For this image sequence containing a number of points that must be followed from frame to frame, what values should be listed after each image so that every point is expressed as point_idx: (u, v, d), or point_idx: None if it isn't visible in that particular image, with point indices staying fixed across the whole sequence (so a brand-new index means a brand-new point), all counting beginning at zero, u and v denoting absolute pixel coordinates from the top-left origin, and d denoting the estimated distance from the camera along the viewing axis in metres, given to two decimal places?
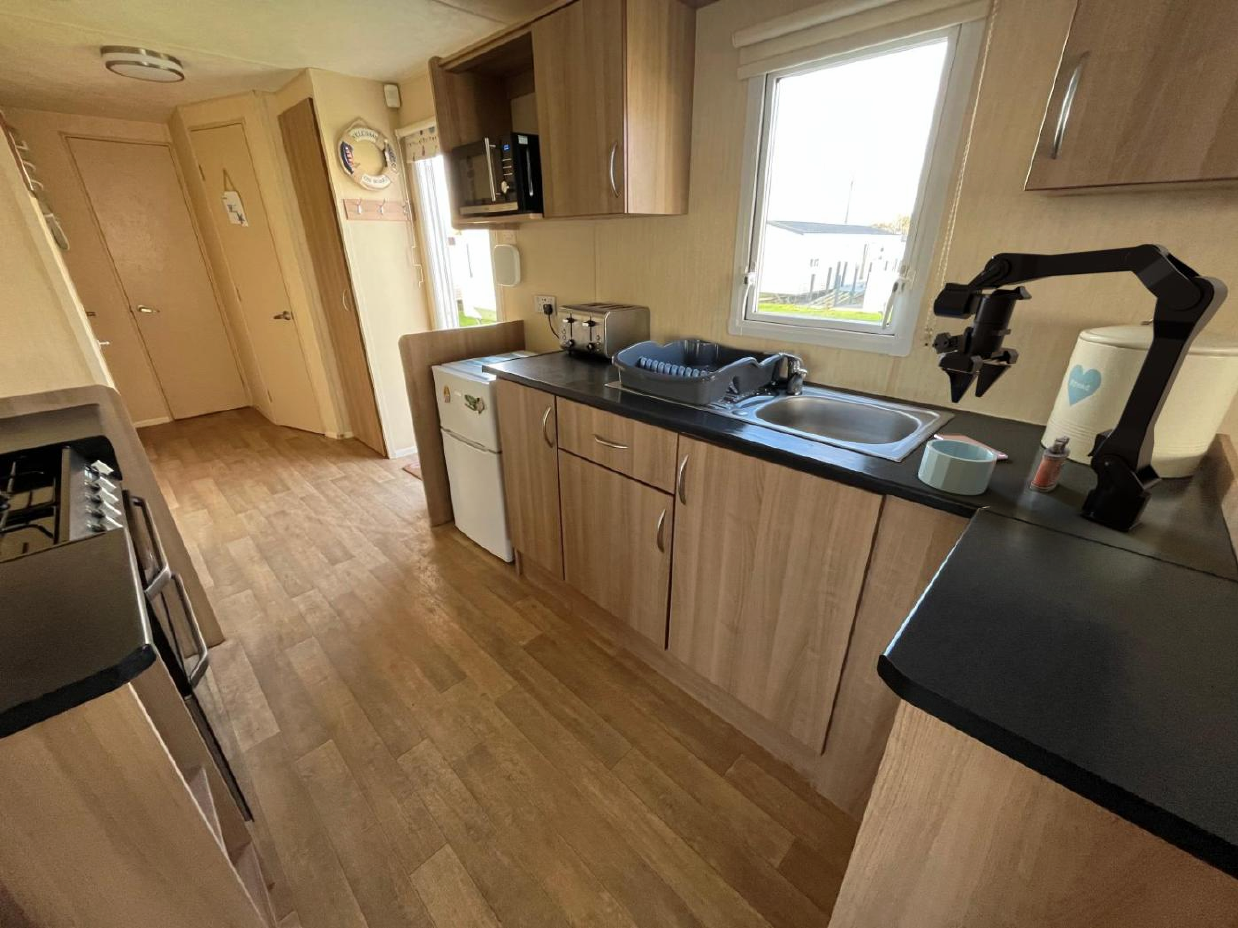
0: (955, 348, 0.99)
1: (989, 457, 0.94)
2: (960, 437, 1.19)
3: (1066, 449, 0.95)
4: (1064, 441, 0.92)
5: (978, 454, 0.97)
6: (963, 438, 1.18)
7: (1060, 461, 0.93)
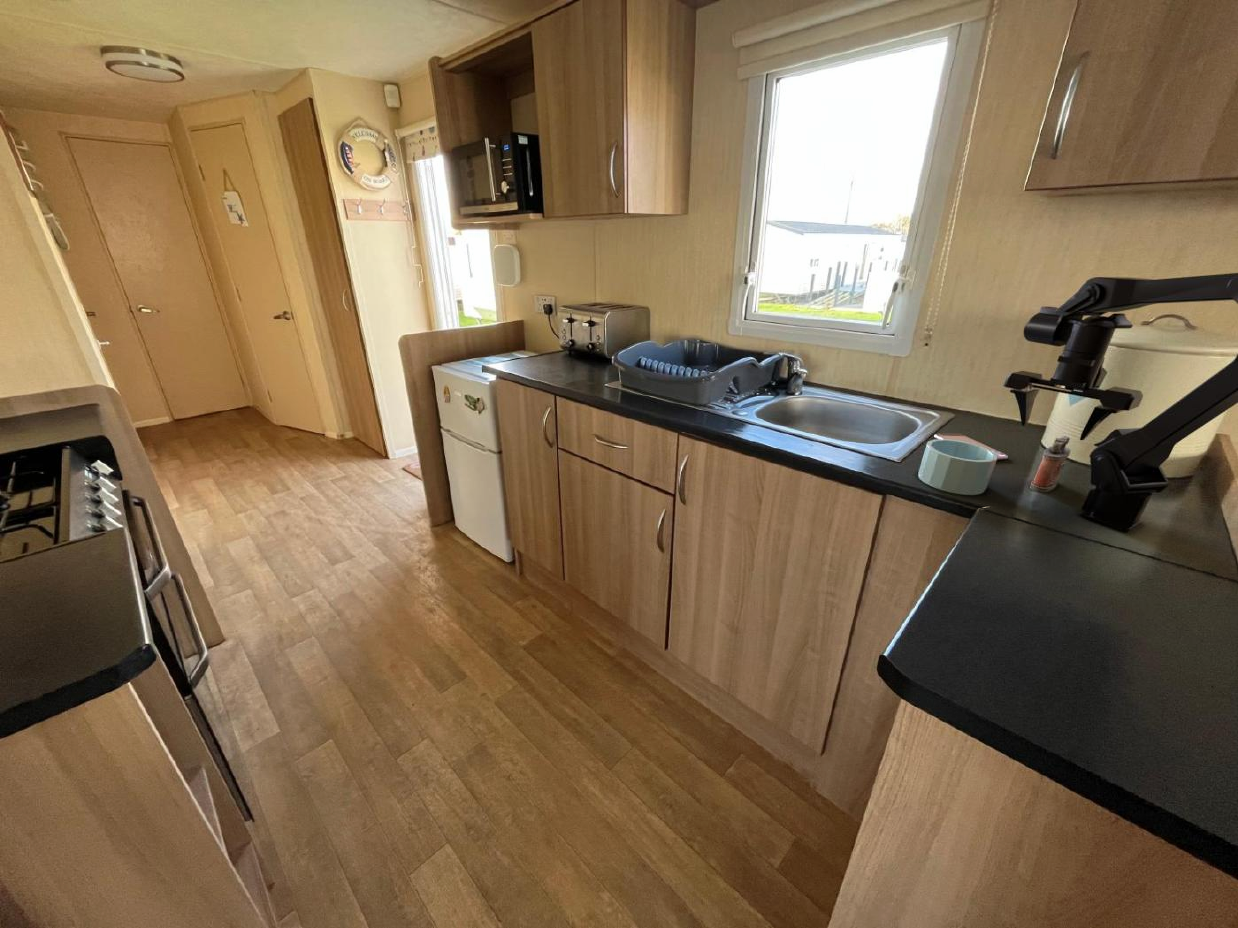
0: None
1: (989, 457, 0.94)
2: (960, 437, 1.19)
3: (1066, 449, 0.95)
4: (1064, 441, 0.92)
5: (978, 454, 0.97)
6: (963, 438, 1.18)
7: (1060, 461, 0.93)
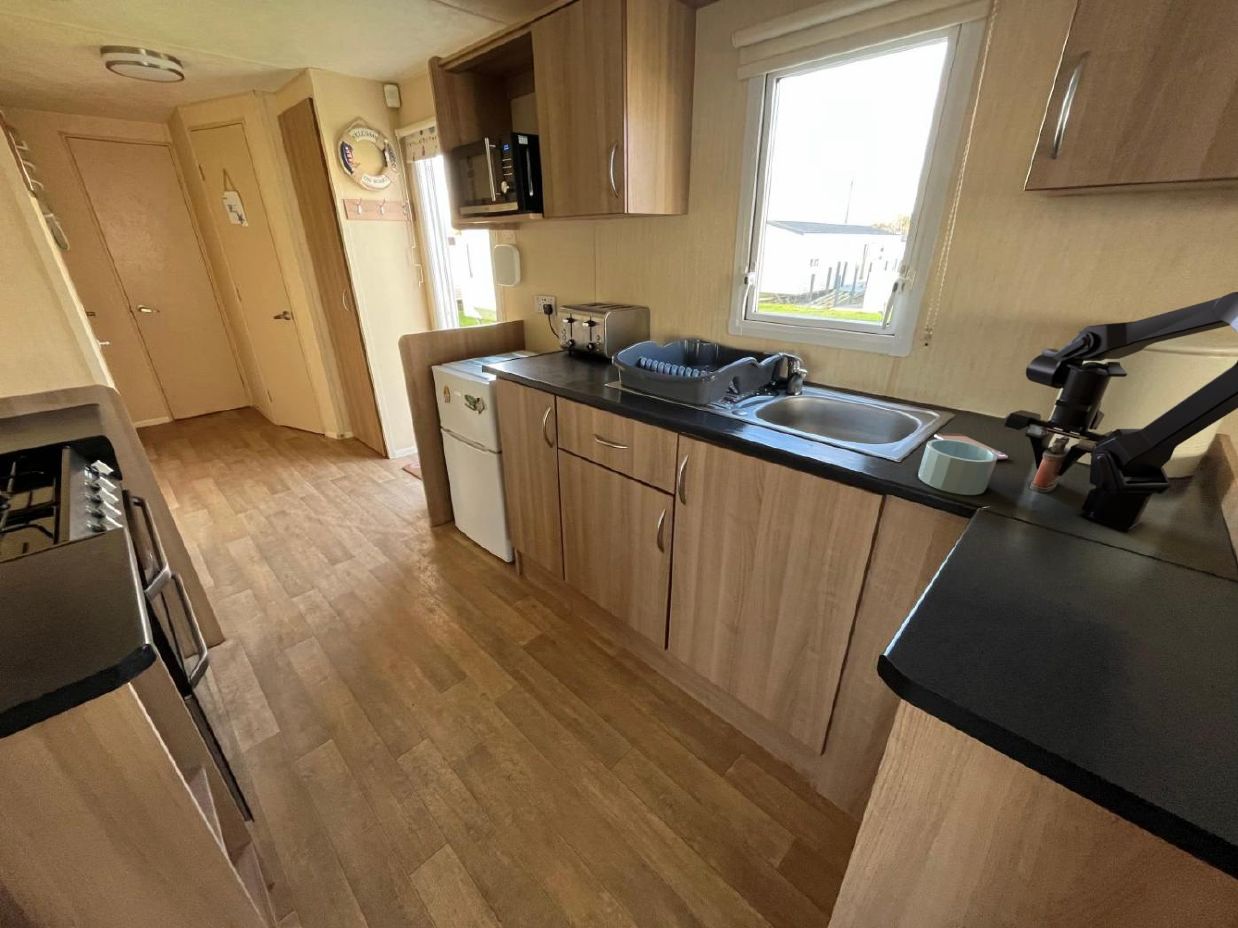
0: None
1: (989, 457, 0.94)
2: (960, 437, 1.19)
3: (1066, 449, 0.95)
4: (1064, 441, 0.92)
5: (978, 454, 0.97)
6: (963, 438, 1.18)
7: (1060, 461, 0.93)
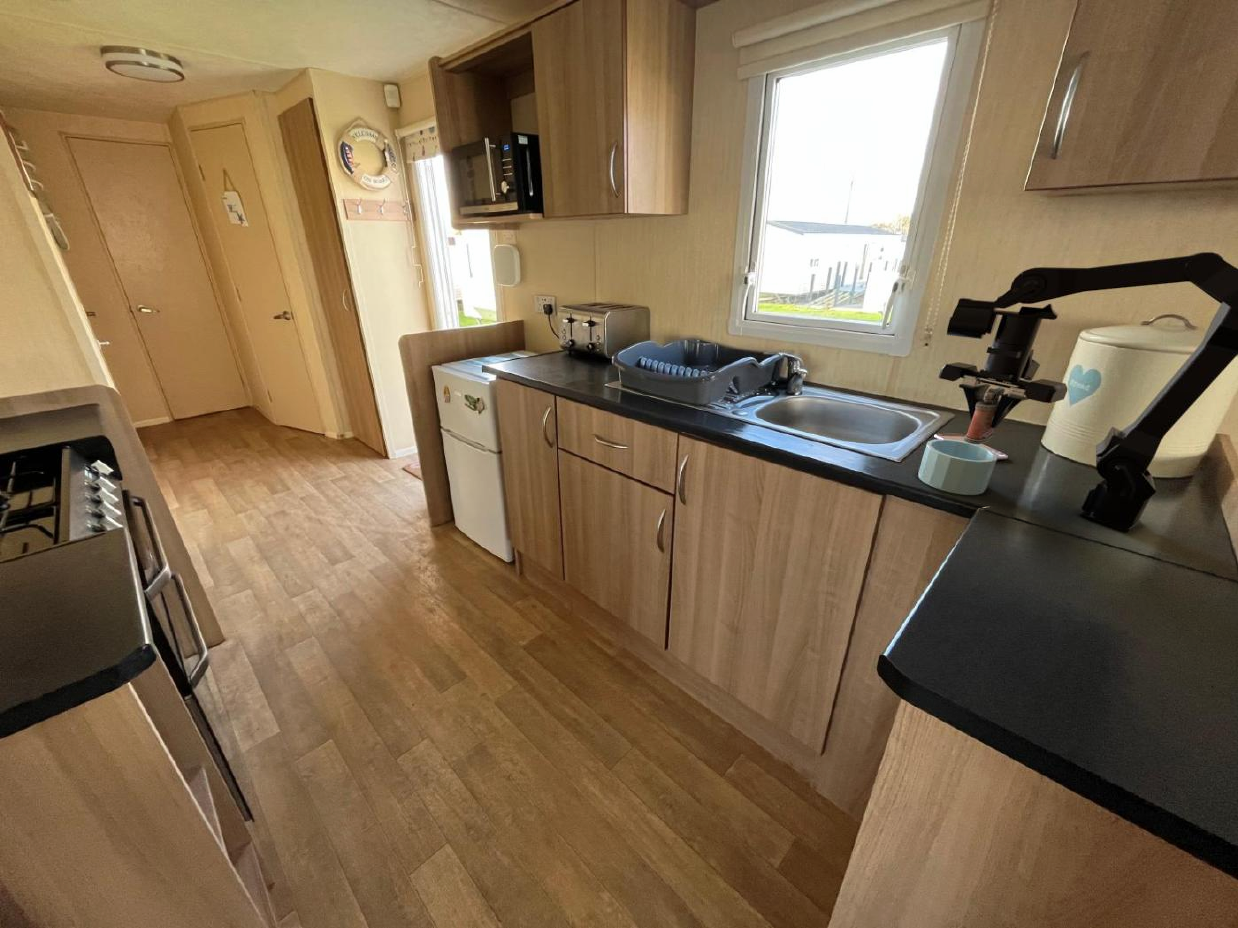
0: None
1: (989, 457, 0.94)
2: (960, 437, 1.19)
3: None
4: (997, 391, 0.90)
5: (978, 454, 0.97)
6: (963, 438, 1.18)
7: (992, 412, 0.90)
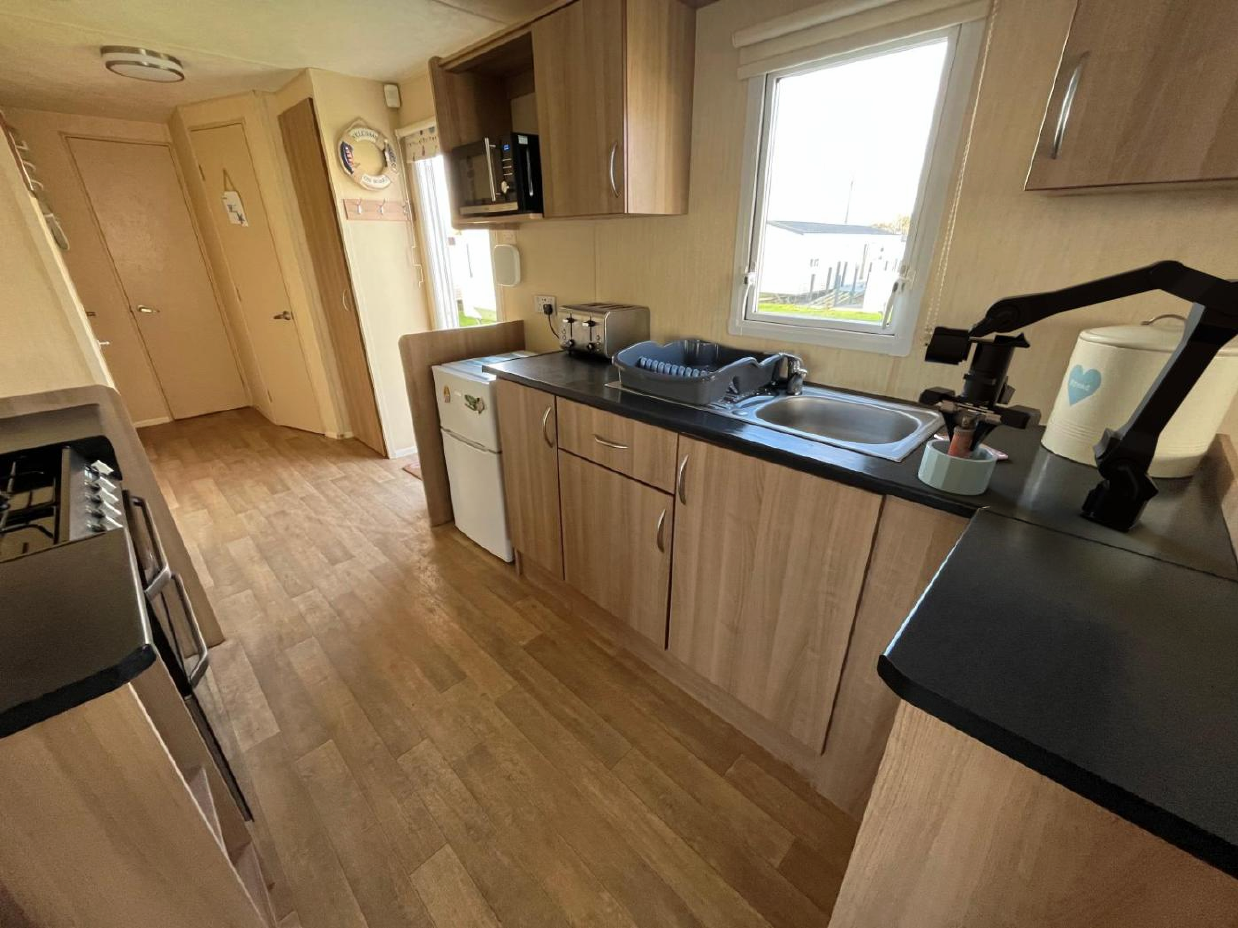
0: None
1: (989, 457, 0.94)
2: None
3: None
4: (974, 416, 0.91)
5: (978, 454, 0.97)
6: None
7: (970, 436, 0.92)
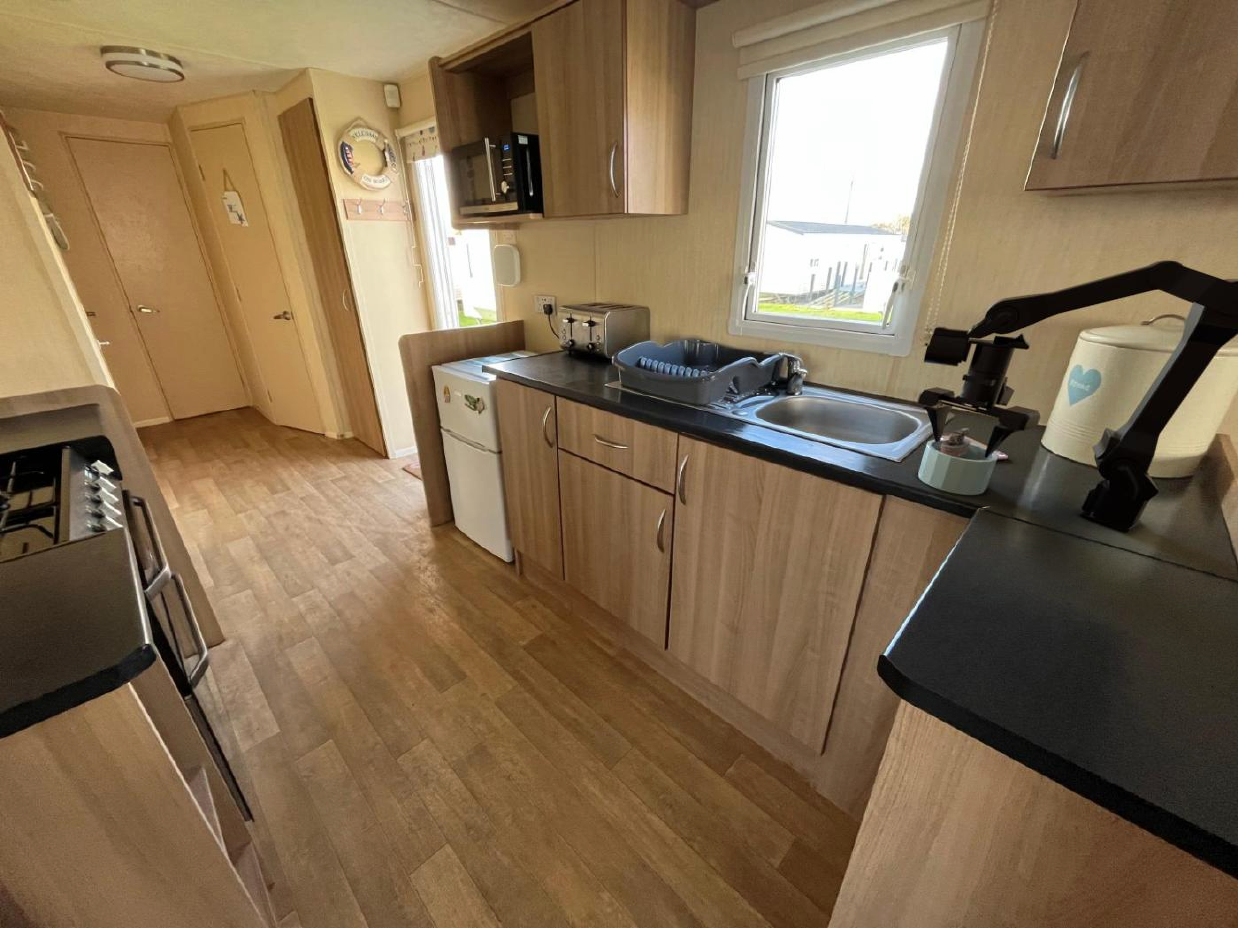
0: None
1: (989, 457, 0.94)
2: None
3: (966, 441, 0.97)
4: (961, 432, 0.94)
5: (978, 454, 0.97)
6: None
7: (957, 452, 0.94)
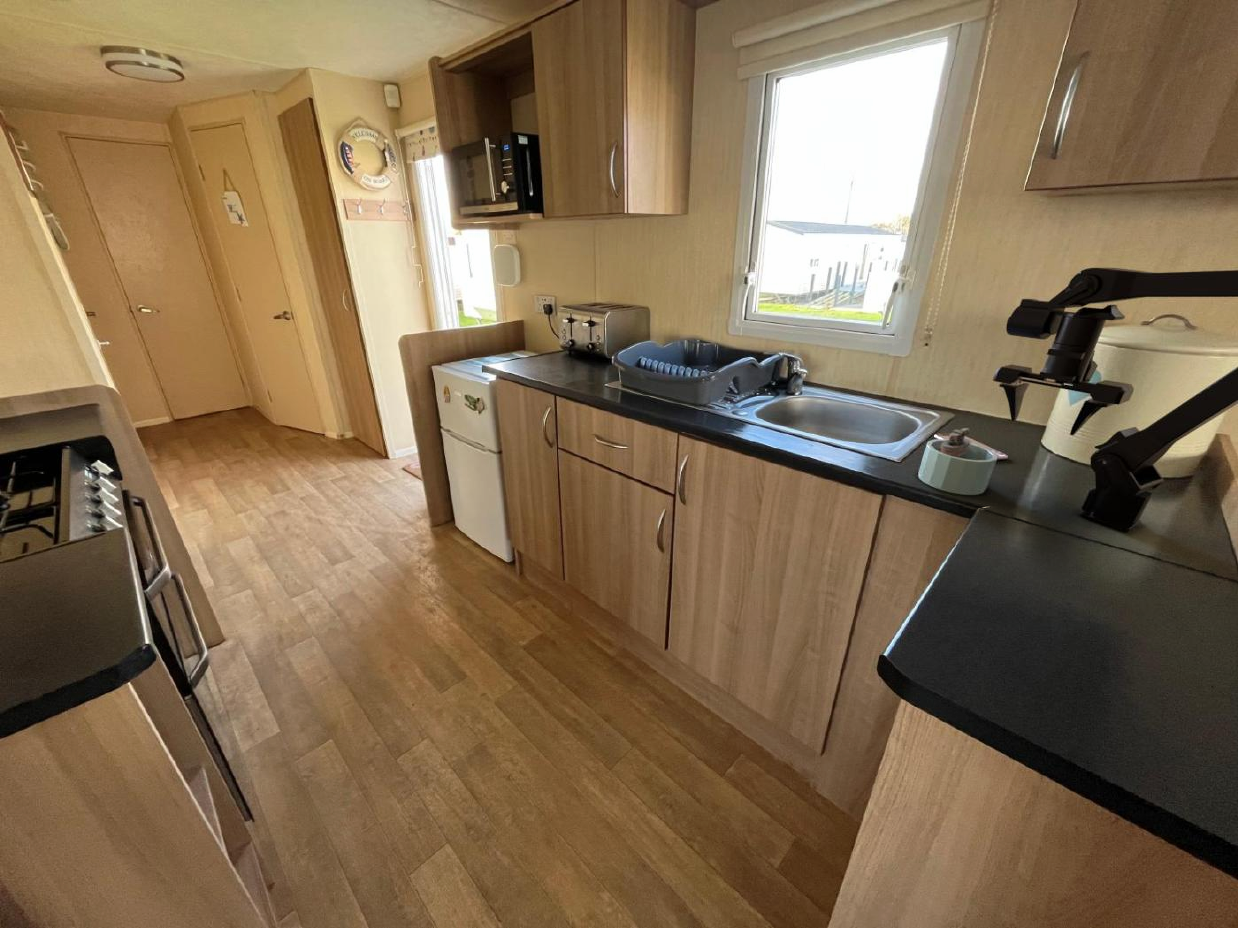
0: None
1: (989, 457, 0.94)
2: None
3: (966, 441, 0.97)
4: (961, 432, 0.94)
5: (978, 454, 0.97)
6: None
7: (957, 452, 0.94)
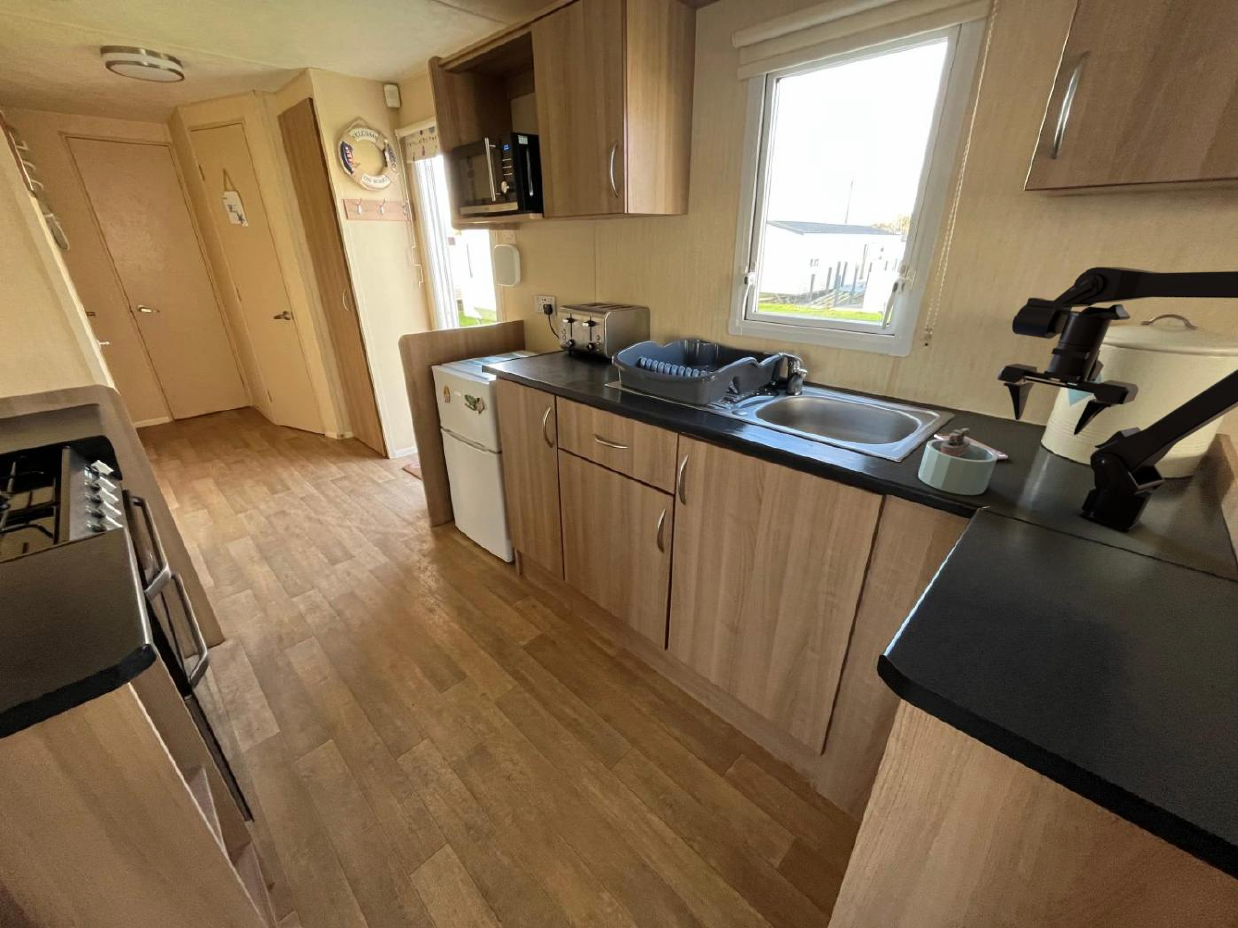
0: None
1: (989, 457, 0.94)
2: None
3: (966, 441, 0.97)
4: (961, 432, 0.94)
5: (978, 454, 0.97)
6: None
7: (957, 452, 0.94)
